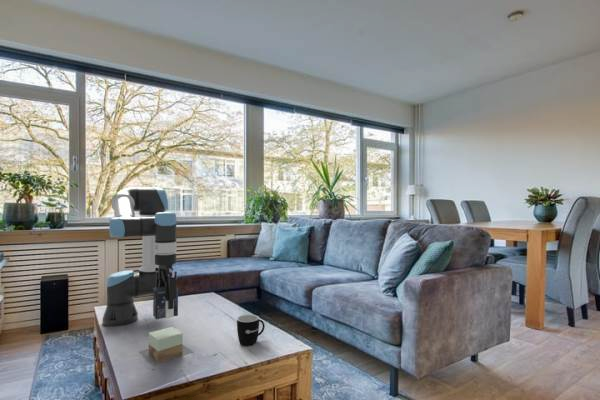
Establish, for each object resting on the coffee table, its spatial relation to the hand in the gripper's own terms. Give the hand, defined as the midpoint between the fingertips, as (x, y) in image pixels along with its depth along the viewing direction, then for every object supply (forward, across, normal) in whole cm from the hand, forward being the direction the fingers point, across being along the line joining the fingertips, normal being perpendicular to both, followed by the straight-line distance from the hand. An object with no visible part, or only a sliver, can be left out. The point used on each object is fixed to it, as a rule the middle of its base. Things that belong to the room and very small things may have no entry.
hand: (165, 315), depth 125 cm
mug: (+15, +13, +30) cm, 36 cm away
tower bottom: (+15, 0, 0) cm, 15 cm away
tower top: (+11, 0, 0) cm, 11 cm away
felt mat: (+15, -2, +1) cm, 15 cm away
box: (+1, 0, 0) cm, 1 cm away
